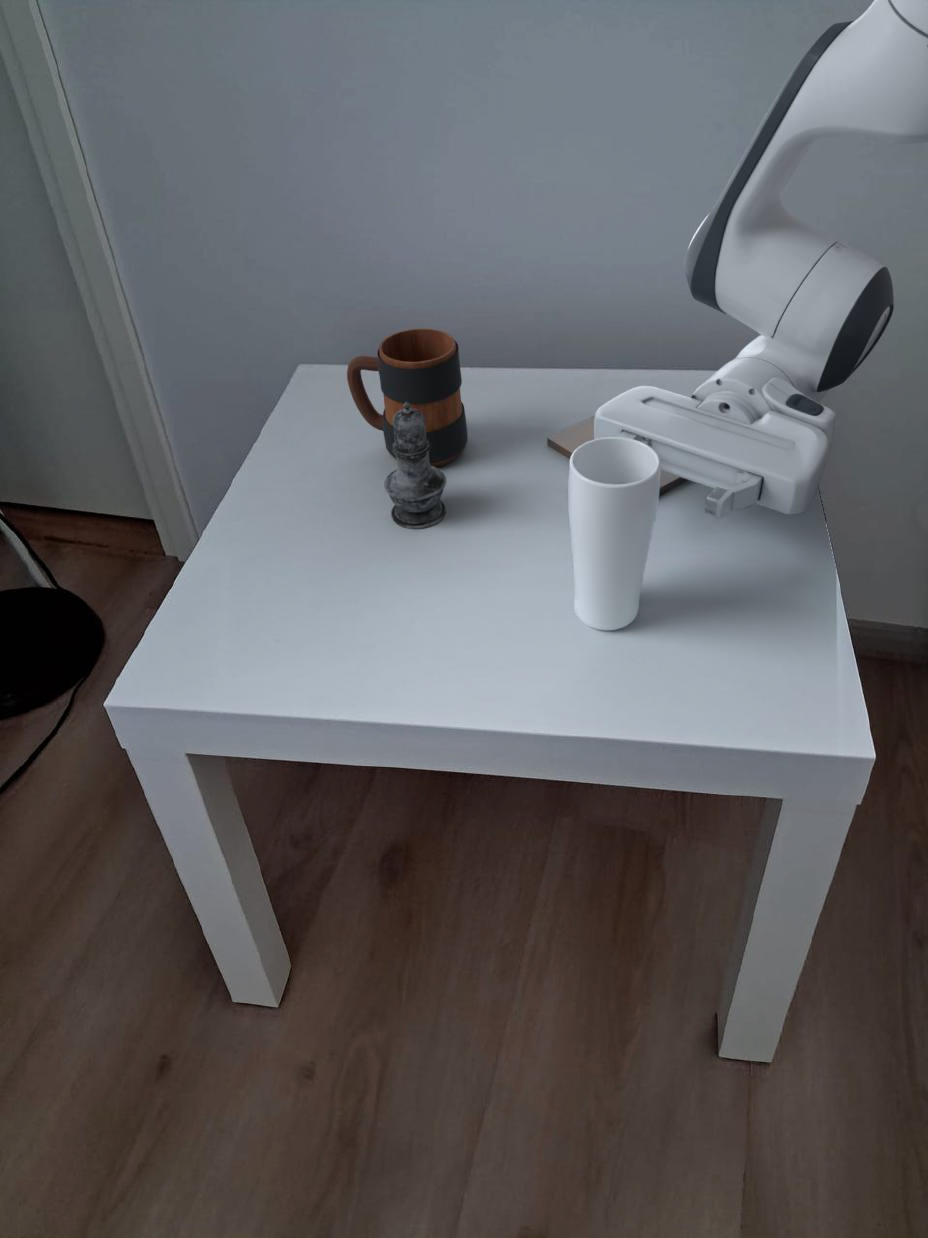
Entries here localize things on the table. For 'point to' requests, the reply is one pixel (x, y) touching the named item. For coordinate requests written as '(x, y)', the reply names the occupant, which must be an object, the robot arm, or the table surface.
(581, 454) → the drinking glass
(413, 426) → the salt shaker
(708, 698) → the table surface
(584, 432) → the walnut board
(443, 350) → the mug
